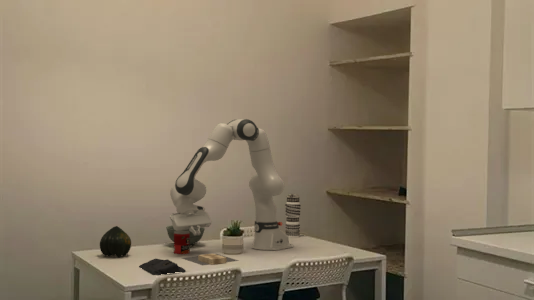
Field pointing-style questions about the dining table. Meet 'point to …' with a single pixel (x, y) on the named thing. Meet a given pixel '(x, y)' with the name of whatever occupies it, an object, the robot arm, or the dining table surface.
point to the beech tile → (212, 259)
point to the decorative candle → (292, 215)
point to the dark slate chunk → (161, 267)
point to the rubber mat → (195, 260)
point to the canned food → (181, 242)
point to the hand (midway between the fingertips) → (197, 234)
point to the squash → (115, 242)
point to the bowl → (192, 238)
